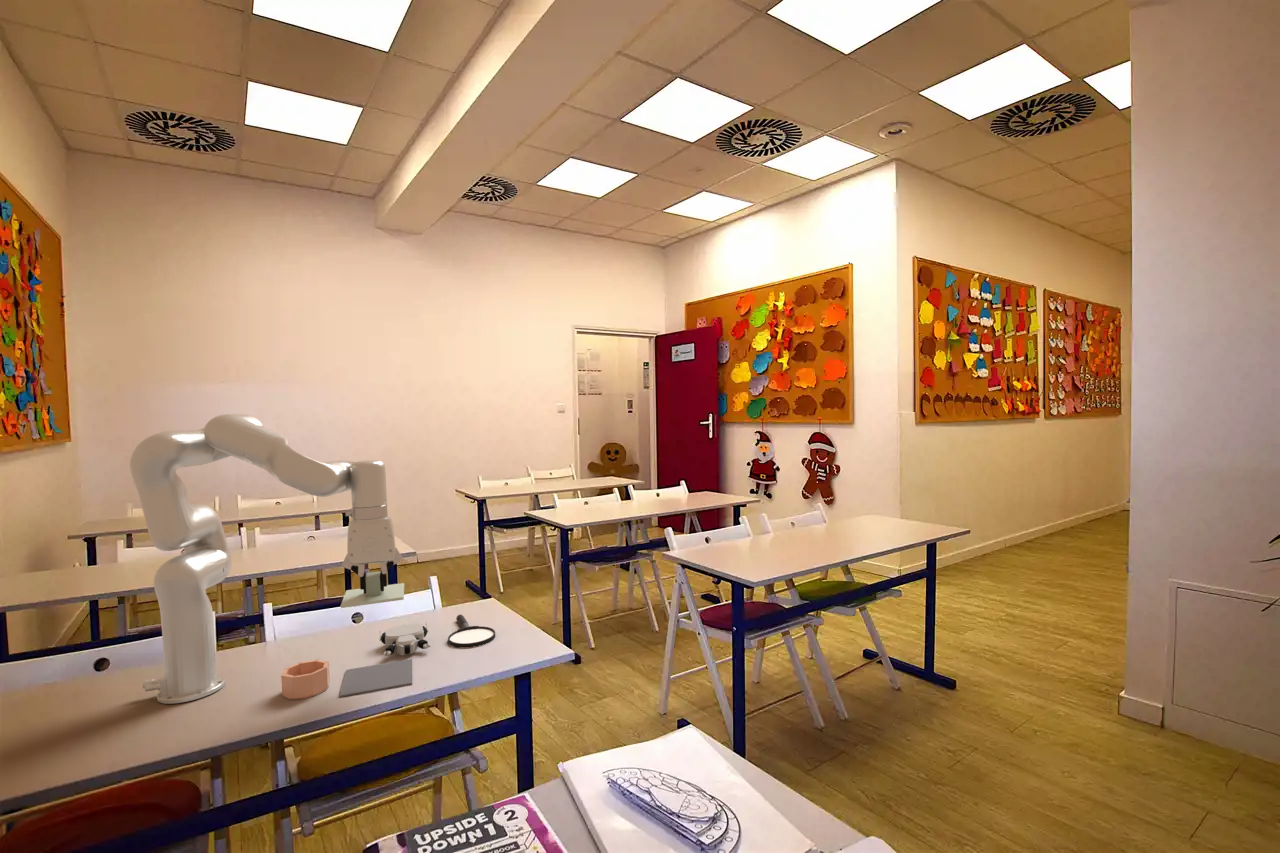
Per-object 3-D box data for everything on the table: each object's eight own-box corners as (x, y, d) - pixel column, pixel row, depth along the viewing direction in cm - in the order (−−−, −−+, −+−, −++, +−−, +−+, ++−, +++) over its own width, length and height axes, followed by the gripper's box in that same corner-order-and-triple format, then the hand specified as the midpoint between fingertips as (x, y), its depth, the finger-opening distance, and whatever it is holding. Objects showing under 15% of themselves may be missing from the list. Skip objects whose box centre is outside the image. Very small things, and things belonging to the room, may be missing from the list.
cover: (340, 608, 135) (339, 585, 135) (346, 592, 147) (345, 571, 147) (403, 599, 140) (402, 577, 140) (404, 585, 152) (403, 565, 152)
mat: (339, 697, 134) (339, 695, 134) (346, 671, 148) (346, 669, 148) (412, 684, 140) (412, 682, 140) (412, 660, 154) (412, 658, 154)
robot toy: (433, 657, 158) (426, 634, 171) (432, 640, 158) (426, 619, 171) (381, 666, 153) (379, 643, 166) (381, 649, 152) (378, 626, 166)
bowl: (279, 702, 133) (278, 680, 133) (287, 685, 141) (286, 664, 141) (326, 694, 136) (325, 672, 136) (331, 678, 144) (330, 657, 144)
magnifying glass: (481, 617, 186) (480, 610, 186) (500, 644, 164) (500, 636, 164) (438, 625, 180) (438, 618, 180) (452, 654, 159) (452, 646, 159)
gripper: (329, 519, 137) (333, 600, 137) (407, 512, 142) (411, 590, 143) (333, 514, 144) (337, 591, 144) (407, 507, 149) (411, 582, 150)
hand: (374, 590), depth 143 cm, fingers closed on cover, 3 cm apart
